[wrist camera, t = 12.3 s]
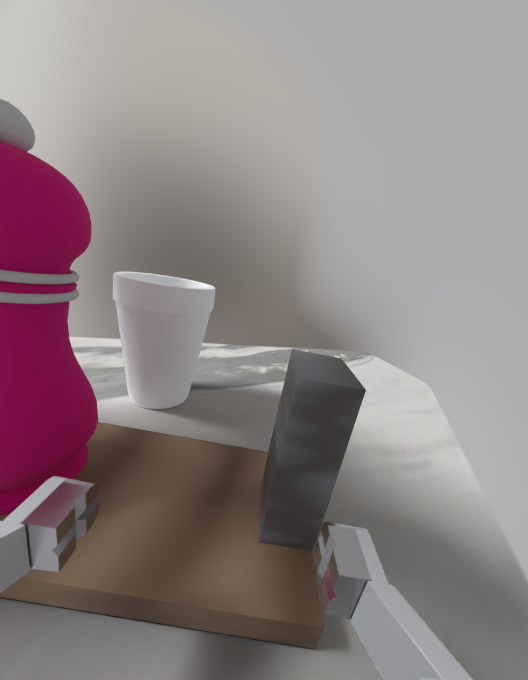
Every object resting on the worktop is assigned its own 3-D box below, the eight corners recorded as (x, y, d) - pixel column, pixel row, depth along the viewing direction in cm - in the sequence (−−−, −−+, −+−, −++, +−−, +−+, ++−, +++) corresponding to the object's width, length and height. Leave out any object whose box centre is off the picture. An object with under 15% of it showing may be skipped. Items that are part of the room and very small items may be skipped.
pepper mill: (113, 446, 19) (130, 162, 14) (56, 545, 13) (49, 73, 7) (4, 440, 18) (-22, 117, 13) (-127, 550, 11) (-306, -50, 6)
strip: (-324, 543, 10) (-506, 269, 7) (-39, 413, 20) (-65, 270, 17) (314, 648, 11) (400, 433, 8) (295, 472, 21) (329, 343, 17)
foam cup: (145, 370, 33) (150, 272, 30) (211, 384, 33) (224, 286, 29) (90, 406, 24) (87, 271, 20) (181, 427, 24) (194, 292, 20)
